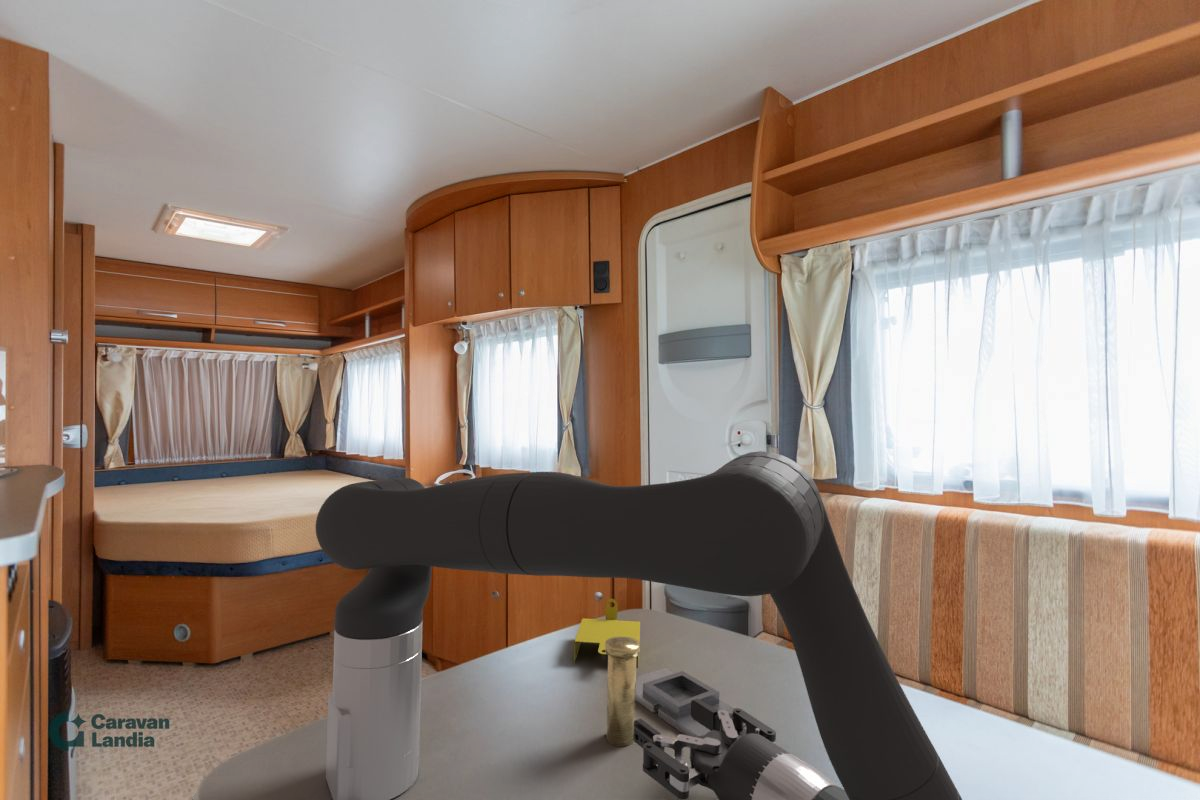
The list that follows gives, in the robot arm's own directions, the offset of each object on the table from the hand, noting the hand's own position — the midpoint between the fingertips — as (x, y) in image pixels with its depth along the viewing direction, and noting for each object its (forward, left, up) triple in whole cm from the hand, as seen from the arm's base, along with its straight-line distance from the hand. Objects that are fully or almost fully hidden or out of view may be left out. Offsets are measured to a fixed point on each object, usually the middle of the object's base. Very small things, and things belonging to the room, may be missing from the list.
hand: (665, 717), depth 67 cm
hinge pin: (0, +9, -7) cm, 11 cm away
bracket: (+12, +29, -7) cm, 33 cm away
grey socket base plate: (+12, +11, -7) cm, 17 cm away
